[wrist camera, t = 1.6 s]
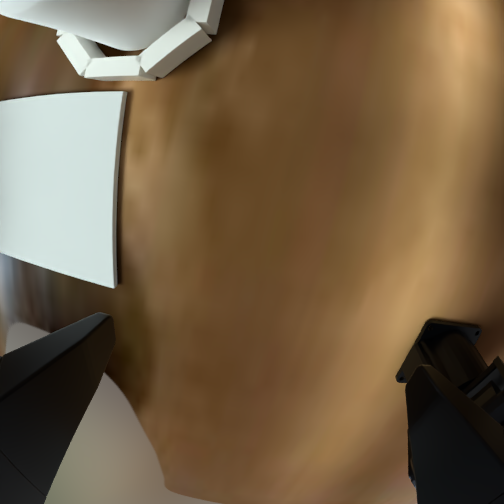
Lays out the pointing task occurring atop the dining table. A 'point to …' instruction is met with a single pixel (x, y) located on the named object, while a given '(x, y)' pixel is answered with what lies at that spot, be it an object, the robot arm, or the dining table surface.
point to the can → (103, 18)
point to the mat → (62, 182)
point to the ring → (155, 56)
